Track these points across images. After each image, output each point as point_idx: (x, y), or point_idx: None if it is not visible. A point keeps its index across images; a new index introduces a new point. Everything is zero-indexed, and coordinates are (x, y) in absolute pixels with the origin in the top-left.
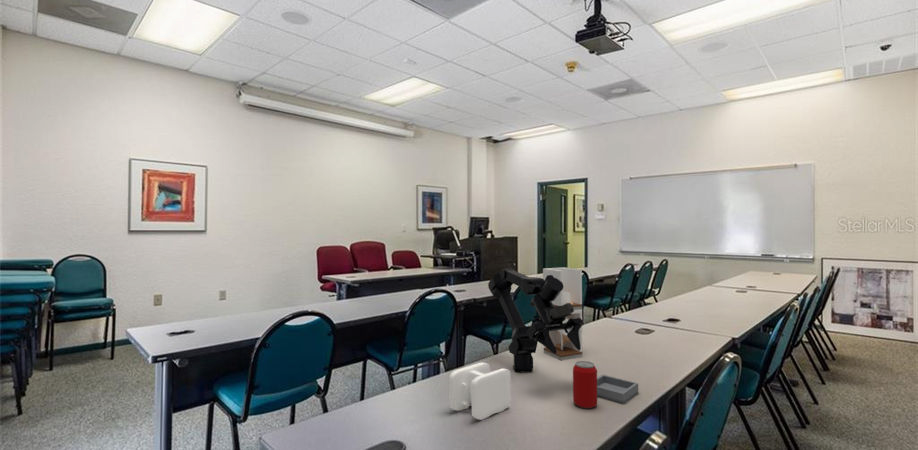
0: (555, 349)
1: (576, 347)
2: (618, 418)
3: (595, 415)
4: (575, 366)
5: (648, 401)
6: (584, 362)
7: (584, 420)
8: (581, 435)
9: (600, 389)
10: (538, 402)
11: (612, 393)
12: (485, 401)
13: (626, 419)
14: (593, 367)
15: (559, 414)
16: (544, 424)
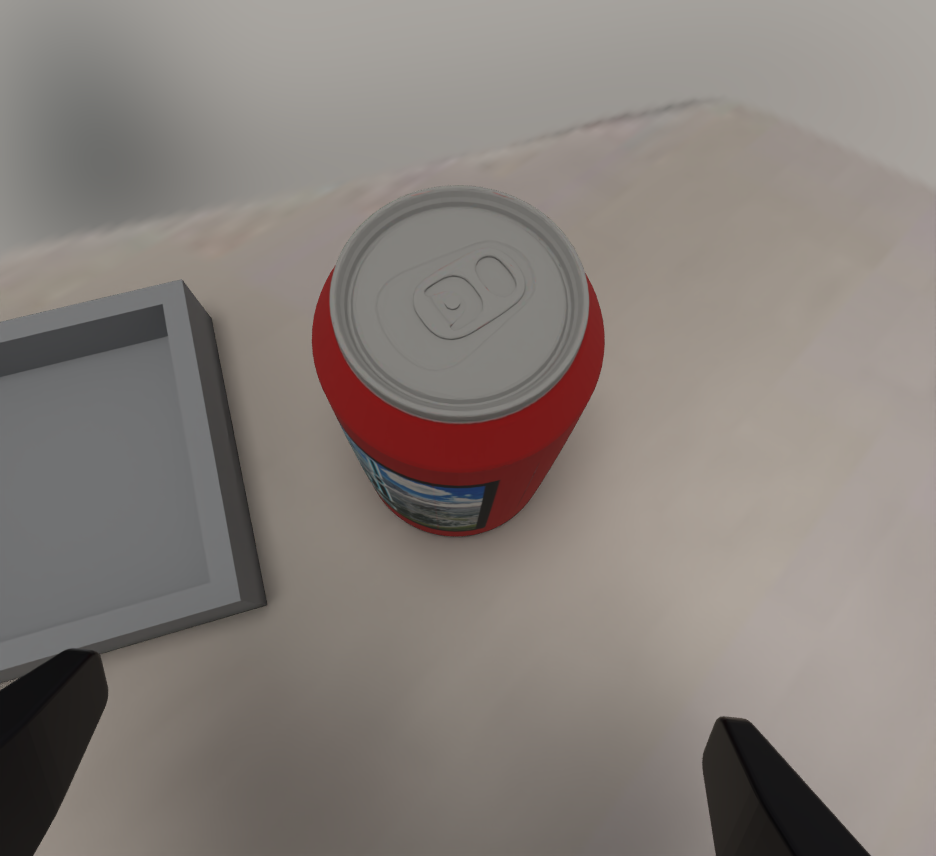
0: (755, 762)
1: (67, 771)
2: None
3: None
4: (581, 362)
5: (18, 263)
6: (397, 355)
7: (641, 292)
8: (784, 185)
9: (219, 465)
10: (760, 685)
11: (204, 368)
12: None
13: (400, 180)
14: (430, 198)
15: (736, 433)
16: (916, 378)
